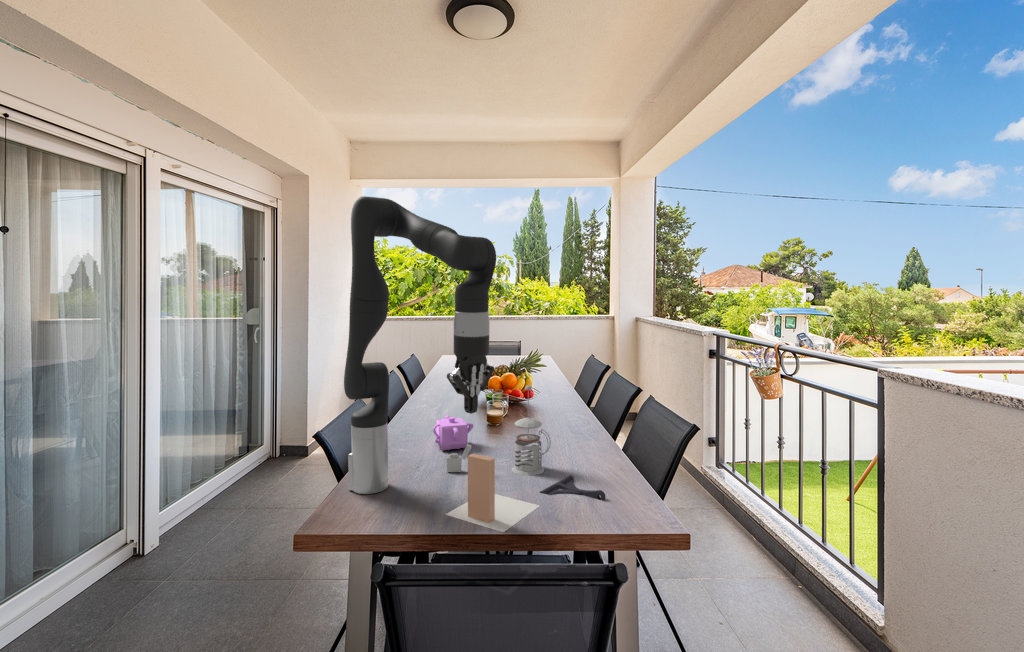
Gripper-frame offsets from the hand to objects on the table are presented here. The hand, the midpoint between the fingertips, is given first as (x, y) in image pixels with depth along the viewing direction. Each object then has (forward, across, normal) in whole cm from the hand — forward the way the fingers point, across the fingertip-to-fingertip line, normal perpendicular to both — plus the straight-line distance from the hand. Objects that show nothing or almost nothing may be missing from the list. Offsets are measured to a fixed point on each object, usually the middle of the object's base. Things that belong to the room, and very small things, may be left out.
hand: (471, 412), depth 106 cm
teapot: (+31, +40, +44) cm, 67 cm away
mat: (+26, +8, 0) cm, 27 cm away
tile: (+25, +3, 0) cm, 26 cm away
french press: (+28, +37, +10) cm, 48 cm away
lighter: (+29, +23, +25) cm, 45 cm away
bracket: (+28, +30, -10) cm, 42 cm away
